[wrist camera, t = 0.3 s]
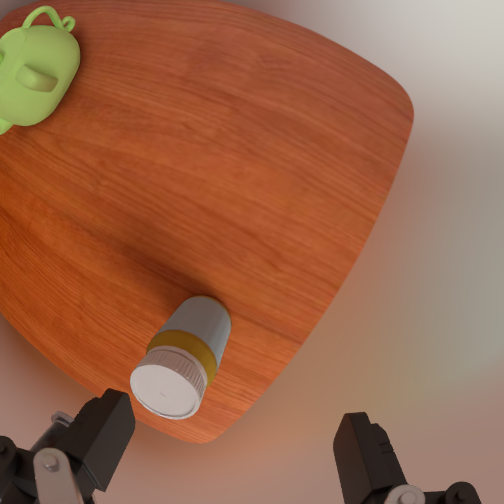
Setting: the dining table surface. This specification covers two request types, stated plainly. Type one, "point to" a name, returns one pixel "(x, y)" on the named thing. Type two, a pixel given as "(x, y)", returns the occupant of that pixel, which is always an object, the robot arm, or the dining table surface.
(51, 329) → the dining table surface
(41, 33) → the teapot
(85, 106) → the dining table surface
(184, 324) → the bottle
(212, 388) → the dining table surface
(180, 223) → the dining table surface
